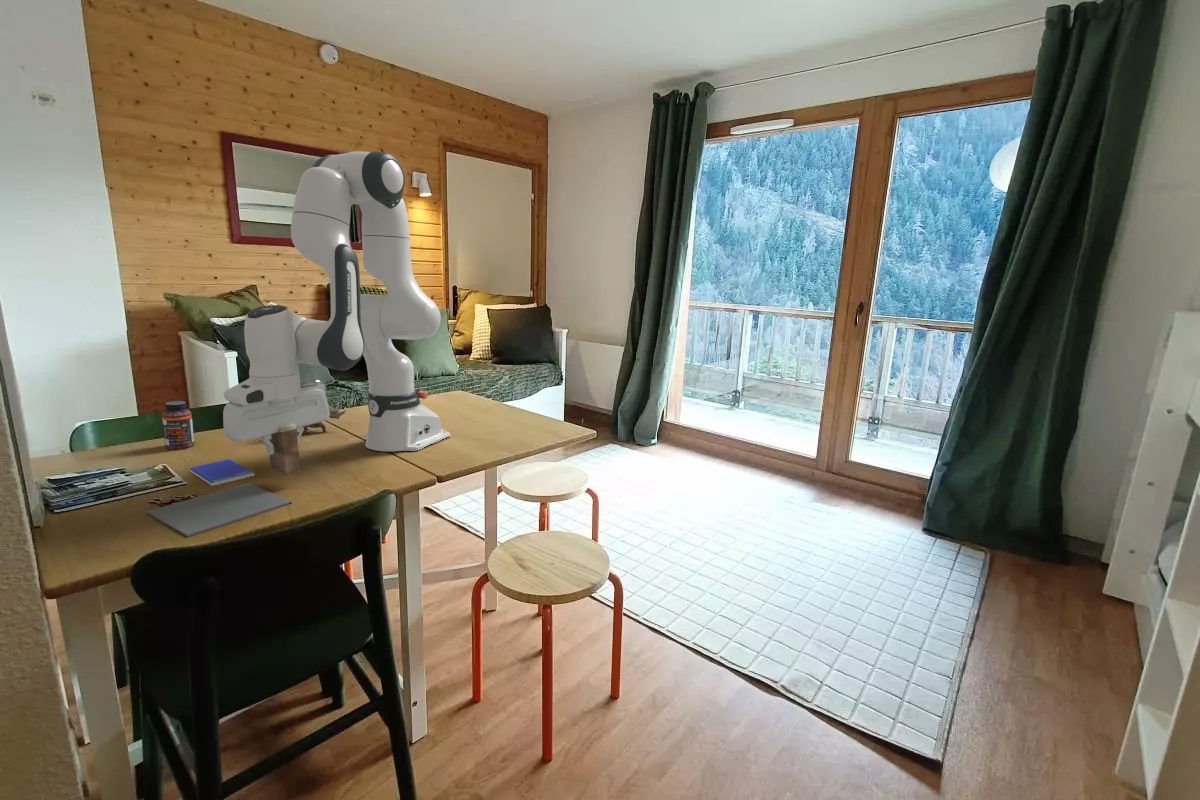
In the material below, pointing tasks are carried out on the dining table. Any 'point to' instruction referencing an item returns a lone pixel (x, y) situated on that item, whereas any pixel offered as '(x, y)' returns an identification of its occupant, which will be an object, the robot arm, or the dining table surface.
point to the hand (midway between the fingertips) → (283, 450)
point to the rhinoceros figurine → (333, 414)
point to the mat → (217, 509)
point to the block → (285, 450)
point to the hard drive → (221, 472)
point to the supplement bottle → (177, 426)
